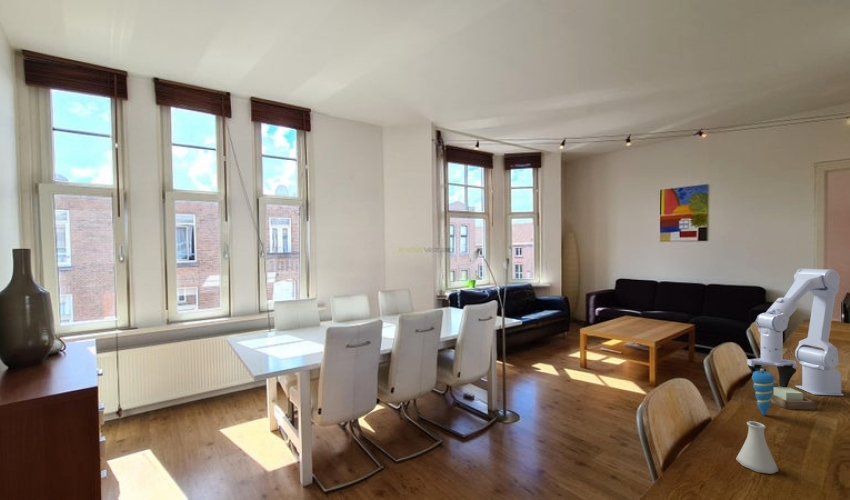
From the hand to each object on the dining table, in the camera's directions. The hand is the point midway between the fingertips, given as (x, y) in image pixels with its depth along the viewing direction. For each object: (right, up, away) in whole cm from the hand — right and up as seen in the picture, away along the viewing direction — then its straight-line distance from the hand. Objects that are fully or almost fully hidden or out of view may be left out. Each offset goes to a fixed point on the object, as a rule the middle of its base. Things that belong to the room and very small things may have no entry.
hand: (771, 386), depth 131 cm
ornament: (-16, -4, -15) cm, 23 cm away
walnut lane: (-1, -3, -6) cm, 7 cm away
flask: (-42, -4, -42) cm, 59 cm away
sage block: (0, -3, -4) cm, 5 cm away
